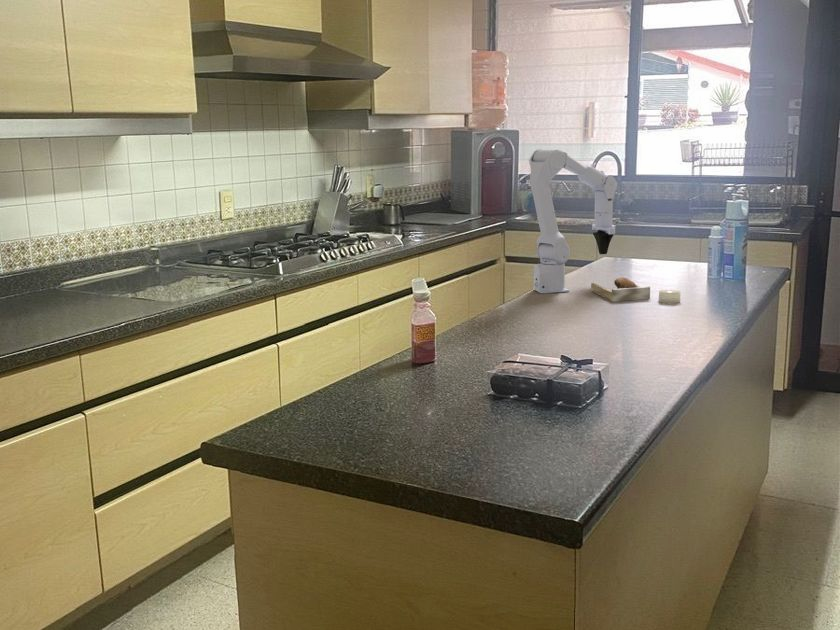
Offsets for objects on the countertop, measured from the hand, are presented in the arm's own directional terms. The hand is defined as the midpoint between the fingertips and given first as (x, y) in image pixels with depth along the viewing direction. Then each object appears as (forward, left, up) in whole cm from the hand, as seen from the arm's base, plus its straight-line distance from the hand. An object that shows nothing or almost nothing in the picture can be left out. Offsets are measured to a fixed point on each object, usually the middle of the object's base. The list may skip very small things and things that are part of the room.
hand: (603, 253), depth 280 cm
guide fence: (-4, -21, -9) cm, 23 cm away
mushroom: (-3, -25, -10) cm, 27 cm away
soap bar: (+6, -35, -10) cm, 37 cm away
